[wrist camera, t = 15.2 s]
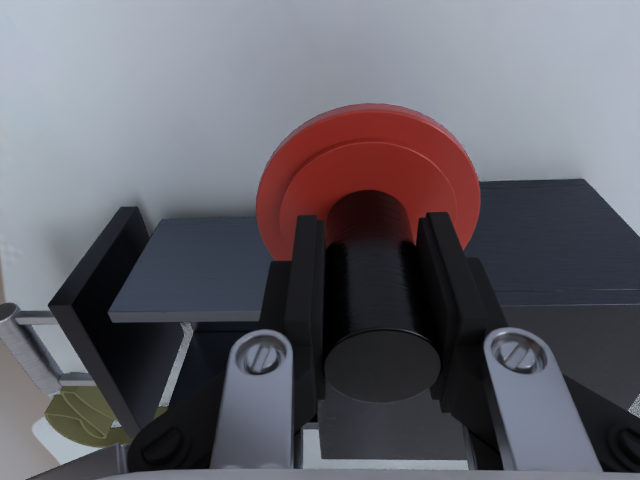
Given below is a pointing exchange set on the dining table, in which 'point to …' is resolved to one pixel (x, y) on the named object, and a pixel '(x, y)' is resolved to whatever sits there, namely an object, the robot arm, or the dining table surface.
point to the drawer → (149, 311)
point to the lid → (371, 236)
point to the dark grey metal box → (523, 313)
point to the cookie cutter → (86, 417)
